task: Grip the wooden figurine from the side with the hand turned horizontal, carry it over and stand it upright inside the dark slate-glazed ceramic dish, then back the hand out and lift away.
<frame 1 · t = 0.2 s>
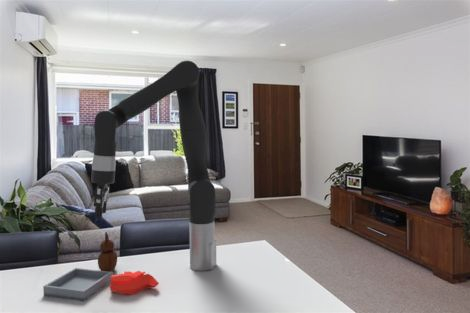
hand: (100, 215, 121), 22 cm above the table, tool pointing down, fingers open, 8 cm apart
wooden figurine: (108, 271, 127), on the table
slate dish: (79, 287, 114), on the table
animal figurine: (135, 289, 113), on the table
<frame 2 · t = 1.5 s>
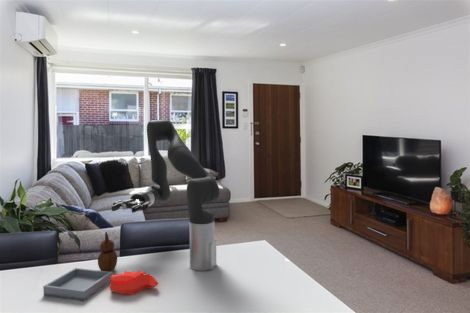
hand: (122, 209, 136), 20 cm above the table, tool horizontal, fingers open, 8 cm apart
nothing on the table moved.
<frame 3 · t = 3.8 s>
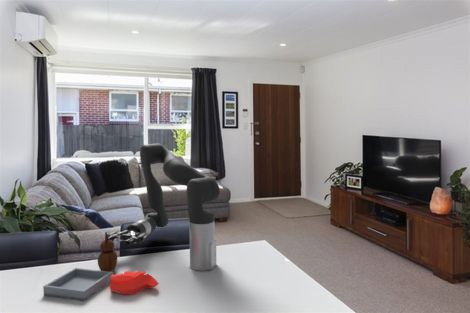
hand: (116, 242, 132), 9 cm above the table, tool horizontal, fingers open, 8 cm apart
nothing on the table moved.
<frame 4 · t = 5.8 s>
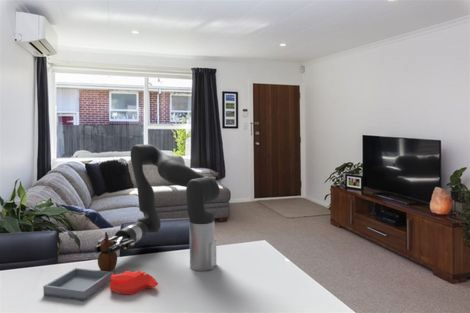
hand: (102, 250, 124), 9 cm above the table, tool horizontal, fingers closed on wooden figurine, 4 cm apart
wooden figurine: (108, 271, 127), on the table, touching gripper
everything else where it was.
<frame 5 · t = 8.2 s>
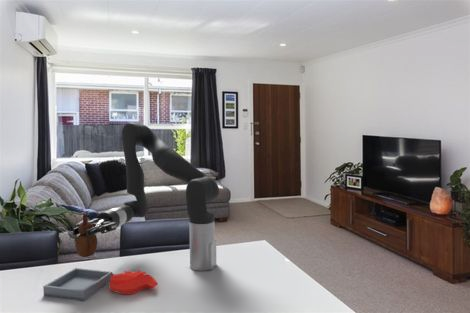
hand: (80, 232, 114), 18 cm above the table, tool horizontal, fingers closed on wooden figurine, 4 cm apart
wooden figurine: (87, 255, 117), point 9 cm above the table, touching gripper
everything else where it was.
when the fingers open (10 cm above the table, at t = 10.7 s): wooden figurine drops 1 cm, resting on slate dish.
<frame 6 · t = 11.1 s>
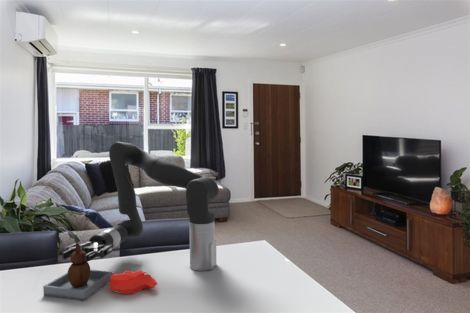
hand: (74, 257, 111), 11 cm above the table, tool horizontal, fingers open, 8 cm apart
wooden figurine: (79, 285, 114), point 1 cm above the table, touching slate dish
everything else where it was.
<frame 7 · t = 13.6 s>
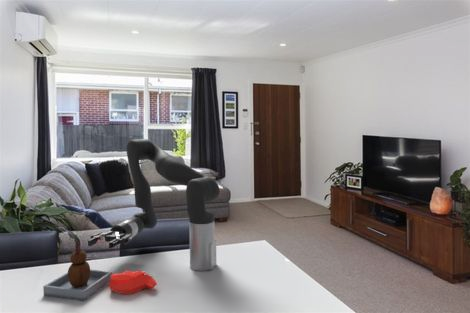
hand: (99, 244, 123), 11 cm above the table, tool horizontal, fingers open, 8 cm apart
nothing on the table moved.
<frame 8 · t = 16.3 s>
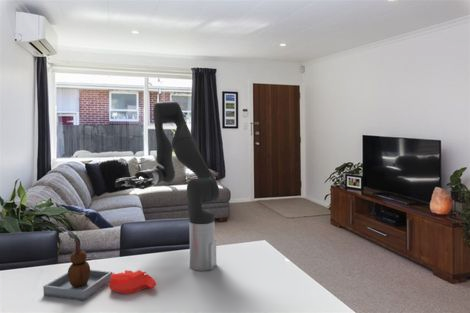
hand: (125, 184, 134), 30 cm above the table, tool horizontal, fingers open, 8 cm apart
nothing on the table moved.
at the end: wooden figurine inside the target area on the slate dish (0.2 cm from its centre), point 0.6 cm above the slate dish's base; wooden figurine tilted 0°; the gripper is holding nothing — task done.
